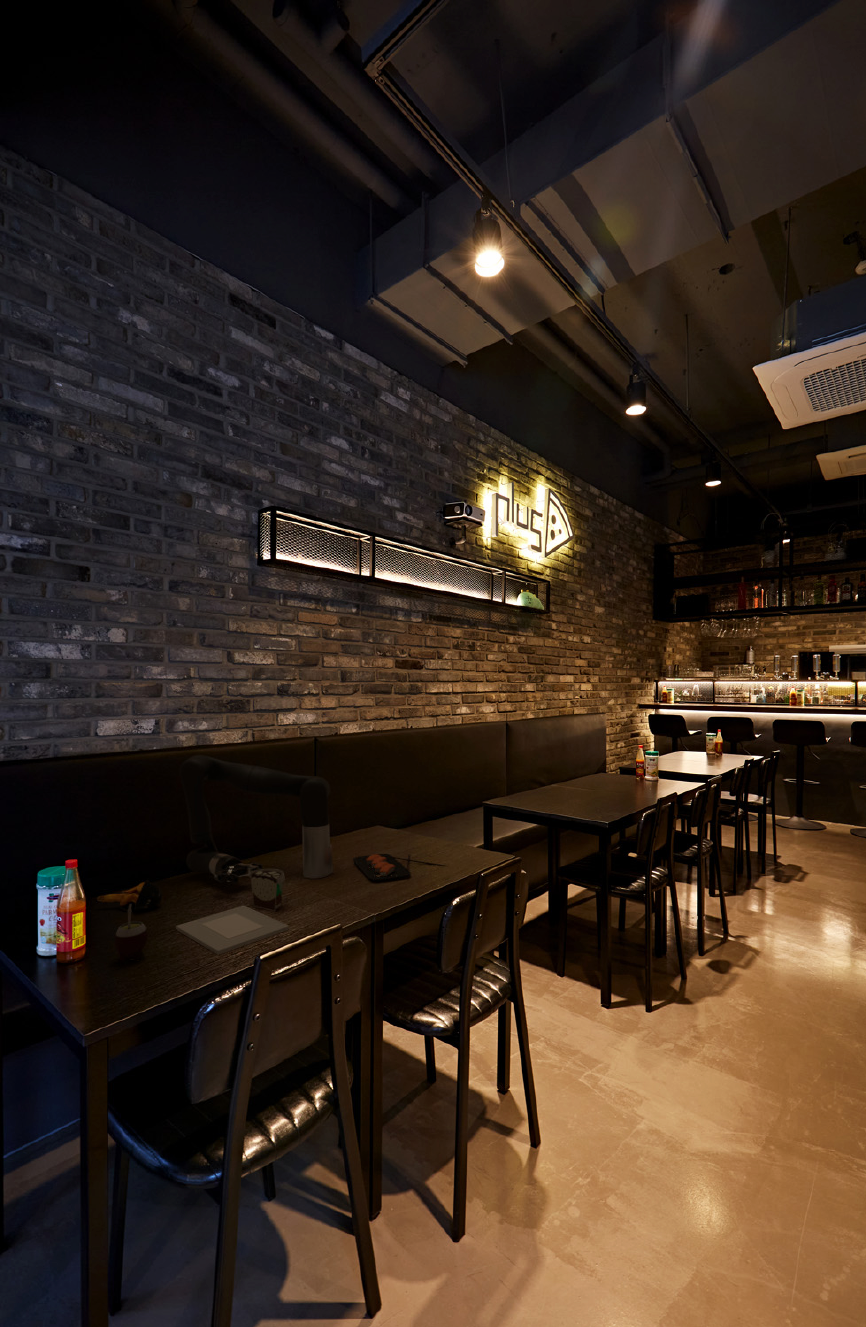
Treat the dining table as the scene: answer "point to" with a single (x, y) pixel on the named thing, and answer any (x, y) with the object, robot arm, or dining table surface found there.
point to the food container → (267, 888)
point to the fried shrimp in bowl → (136, 897)
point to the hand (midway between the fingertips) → (250, 876)
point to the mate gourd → (130, 939)
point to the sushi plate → (384, 866)
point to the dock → (231, 929)
